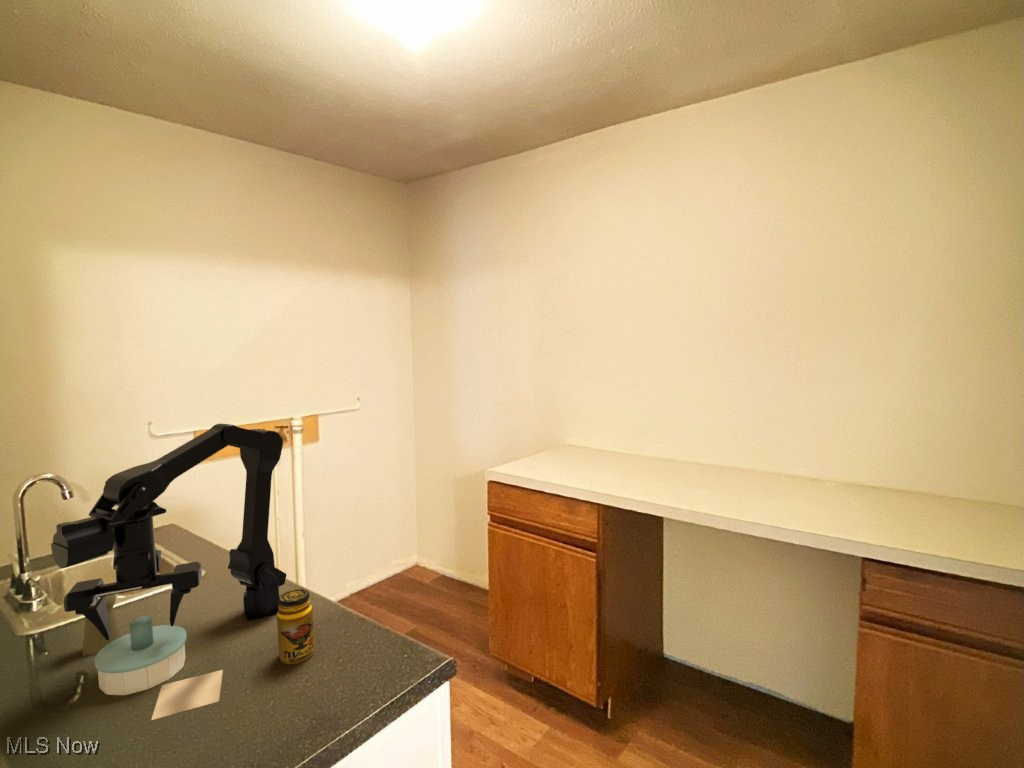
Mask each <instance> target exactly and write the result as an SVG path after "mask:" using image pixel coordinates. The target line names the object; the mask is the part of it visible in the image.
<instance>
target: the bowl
mask: <svg viewBox="0 0 1024 768" xmlns="http://www.w3.org/2000/svg"><path fill="white" fill-rule="evenodd" d="M185 644H186V642H185V643H184V645H183V646H182V647H181V648H180V649H179V650H178V651H177V652H175V653H174V654H172V655H171V656H169V657H168V658H166V659H164V660H162V661H160V662H158V663H155V664H153V665H150V666H148V667H145V668H141V669H138V670H134V671H129V672H123V673H105V672H101V671H99V670H98V669H97V677H98V679H97V680H98V688H99V690H101V691H102V692H103V693H104V694H105V695H108V696H109V695H111V696H127V695H132V694H134V693H135V694H136V693H139V692H143V691H146V690H150V689H151V688H154V687H155V686H158V685H160V684H162V683H163V682H166V681H168V680H170V679H171V678H172V677H173V676H174V675H176V674H177V673H178V672H179V671H180V670H182V669H183V667H184V665H185V660H186V645H185Z"/></svg>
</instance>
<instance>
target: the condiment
mask: <svg viewBox="0 0 1024 768" xmlns="http://www.w3.org/2000/svg"><path fill="white" fill-rule="evenodd" d="M310 602H311V598H310V592H309V591H308V590H307V589H305V588H294V589H290V590H287V591H285V592H283V593H281V595H279V599H278V603H279V605H278V609H279V610H278V612H277V615H276V624H277V627H276V628H277V638H278V639H277V640H278V658H279V660H280V662H281V663H282V664H286V665H295V664H300V663H302V662H304V661H306V660H309V659H310V658H311V657H312V656H313V655H314V651H315V645H316V643H315V631H314V629H315V628H314V611H313V610H314V609H313V606H312V604H311V603H310Z"/></svg>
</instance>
